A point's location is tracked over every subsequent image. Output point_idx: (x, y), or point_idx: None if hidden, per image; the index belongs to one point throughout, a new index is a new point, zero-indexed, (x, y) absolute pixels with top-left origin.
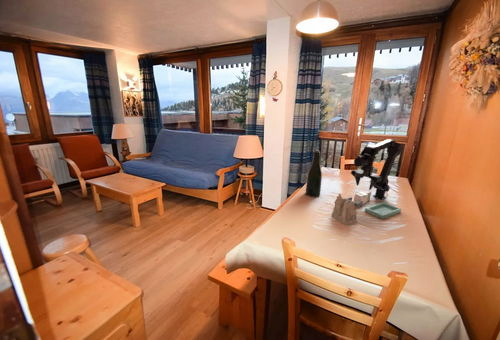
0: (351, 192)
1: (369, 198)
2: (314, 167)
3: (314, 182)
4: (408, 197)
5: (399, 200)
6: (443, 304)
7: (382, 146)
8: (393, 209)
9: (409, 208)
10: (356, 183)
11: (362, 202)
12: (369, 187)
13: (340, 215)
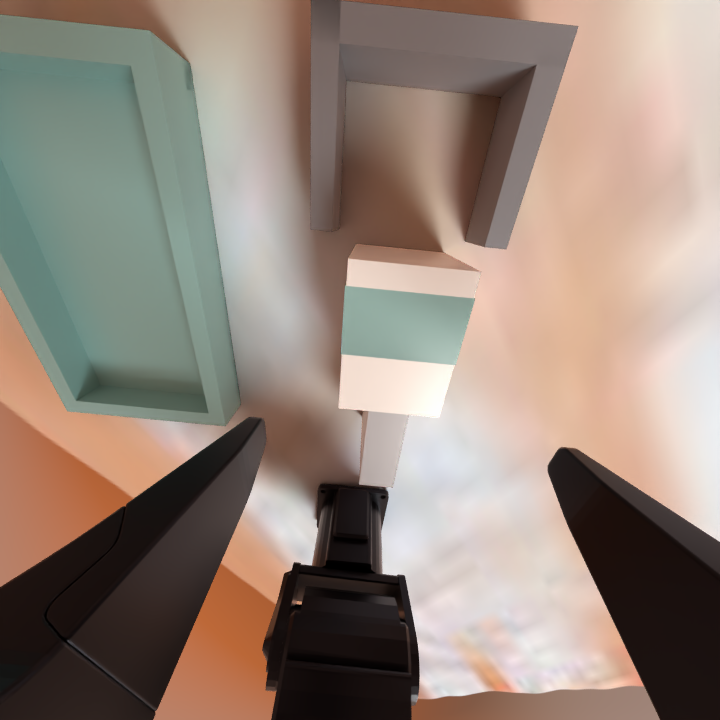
0: (551, 441)
1: (362, 422)
2: None
3: None
4: (265, 588)
5: (257, 538)
6: None
7: None
8: (137, 388)
9: (146, 486)
10: (623, 480)
11: (312, 218)
12: (233, 455)
13: None
